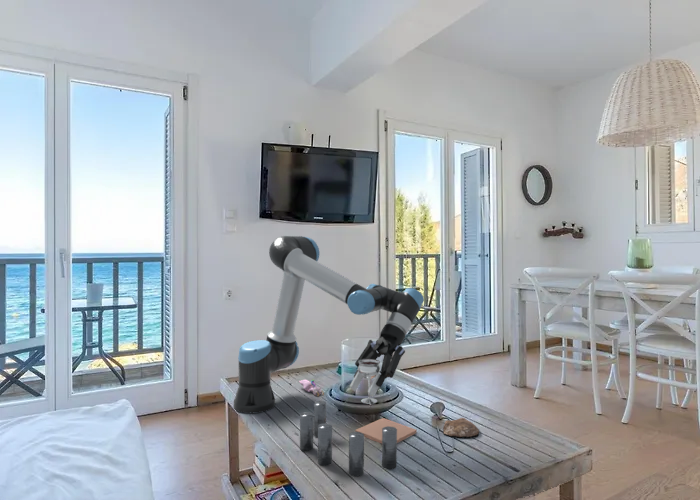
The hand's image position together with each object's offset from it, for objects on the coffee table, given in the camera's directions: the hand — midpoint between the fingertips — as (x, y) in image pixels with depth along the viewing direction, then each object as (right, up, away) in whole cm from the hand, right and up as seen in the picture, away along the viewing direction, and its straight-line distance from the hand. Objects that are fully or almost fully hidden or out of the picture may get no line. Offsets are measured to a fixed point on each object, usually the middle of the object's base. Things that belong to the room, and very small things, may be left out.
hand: (361, 391), depth 132 cm
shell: (+33, -17, +12) cm, 39 cm away
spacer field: (-7, -17, -6) cm, 19 cm away
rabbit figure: (-20, -16, +49) cm, 55 cm away
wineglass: (+2, -4, +3) cm, 5 cm away
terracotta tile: (+8, -17, +10) cm, 21 cm away
